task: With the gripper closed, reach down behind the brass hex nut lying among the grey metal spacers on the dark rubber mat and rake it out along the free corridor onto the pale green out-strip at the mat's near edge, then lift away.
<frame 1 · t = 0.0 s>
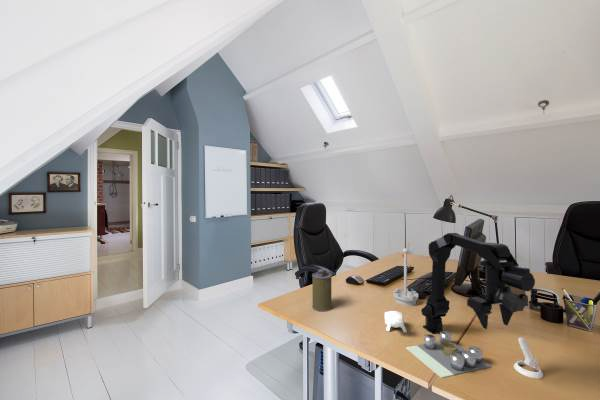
hand: (495, 326, 93), 15 cm above the table, fingers open, 9 cm apart
mat: (444, 357, 100), on the table
flag stand: (405, 302, 151), on the table
spacers: (433, 329, 120), resting on mat
canister: (322, 307, 144), on the table
nut: (449, 353, 102), resting on mat
white footed lump: (395, 329, 121), on the table
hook: (528, 371, 92), on the table
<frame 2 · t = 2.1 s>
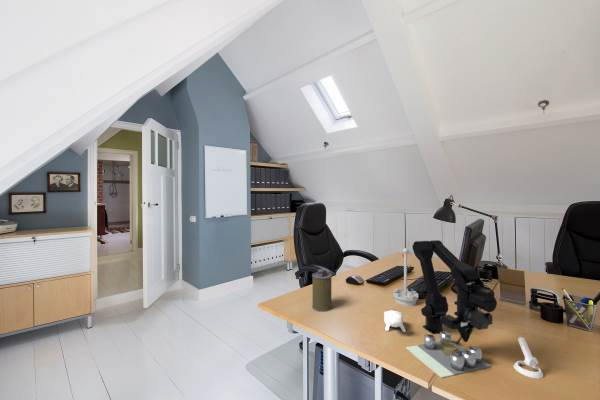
hand: (465, 341, 104), 4 cm above the table, fingers closed
nothing on the table moved.
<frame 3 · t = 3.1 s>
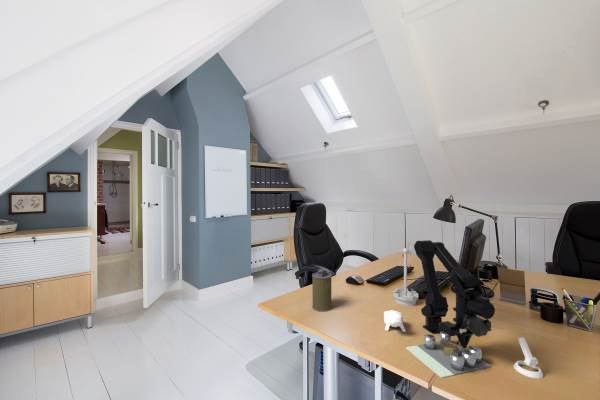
hand: (464, 347, 104), 1 cm above the table, fingers closed
nothing on the table moved.
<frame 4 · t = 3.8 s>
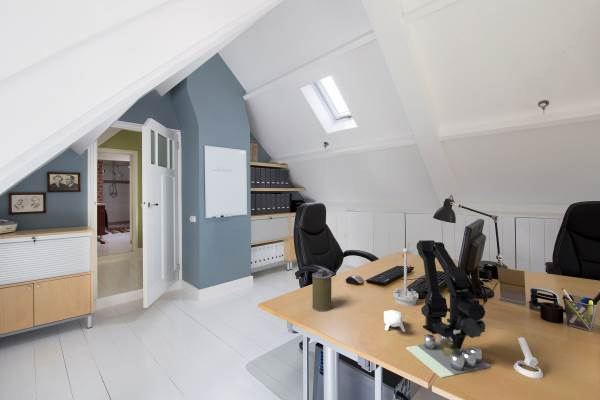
hand: (458, 349, 103), 1 cm above the table, fingers closed
nut: (449, 353, 102), resting on mat, touching gripper
everything else where it was.
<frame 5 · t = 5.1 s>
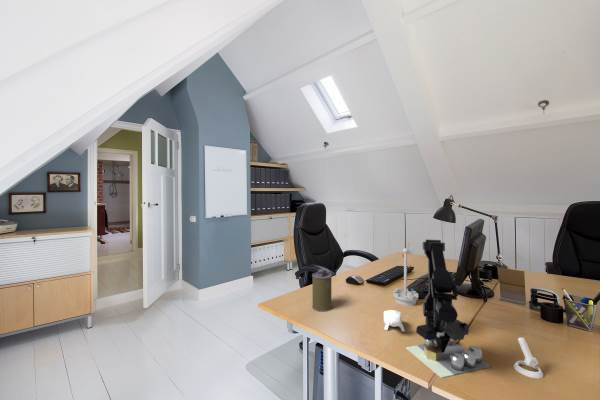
hand: (442, 352, 101), 1 cm above the table, fingers closed
nut: (432, 356, 100), resting on mat, touching gripper
everything else where it was.
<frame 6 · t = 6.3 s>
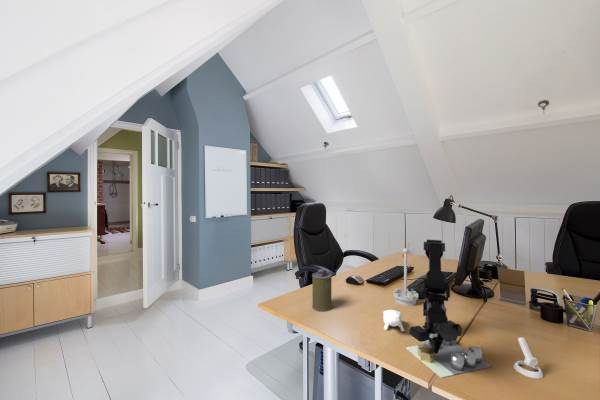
hand: (435, 353, 100), 1 cm above the table, fingers closed
nut: (426, 357, 99), resting on mat, touching gripper
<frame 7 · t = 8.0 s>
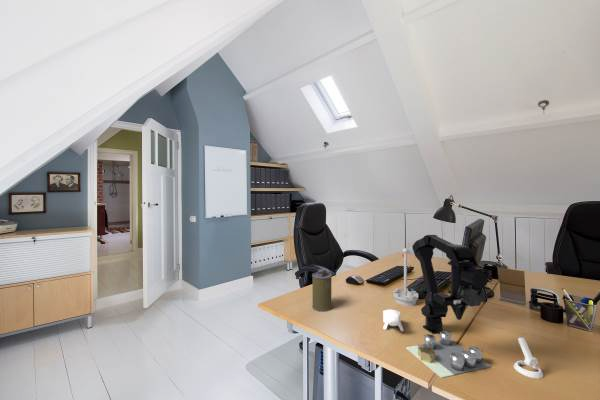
hand: (458, 319, 104), 12 cm above the table, fingers closed
nut: (426, 357, 99), resting on mat
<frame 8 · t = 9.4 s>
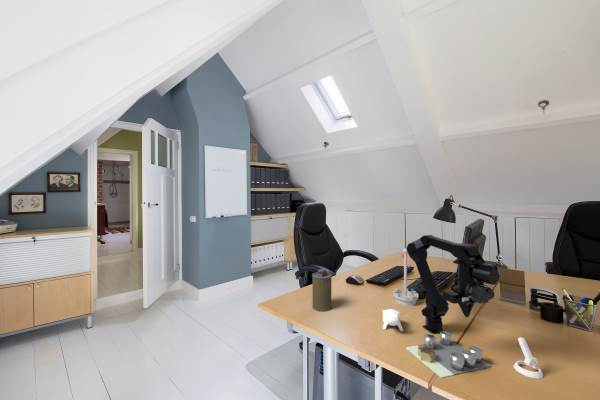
hand: (466, 316, 106), 12 cm above the table, fingers closed
at the end: nut inside the target area (1.4 cm from its centre), resting on mat; nut moved 10.3 cm from its start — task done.
